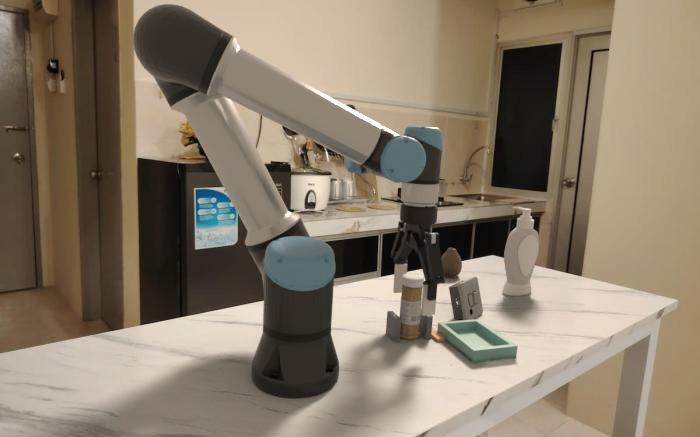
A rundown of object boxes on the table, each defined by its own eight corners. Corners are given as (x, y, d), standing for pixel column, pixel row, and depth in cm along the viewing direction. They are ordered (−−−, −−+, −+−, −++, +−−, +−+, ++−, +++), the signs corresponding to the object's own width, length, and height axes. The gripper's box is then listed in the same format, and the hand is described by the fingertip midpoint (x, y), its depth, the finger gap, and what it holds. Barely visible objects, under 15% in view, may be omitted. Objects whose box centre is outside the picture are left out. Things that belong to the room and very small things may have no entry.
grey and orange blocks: (397, 345, 97) (399, 322, 96) (382, 329, 104) (384, 308, 103) (445, 340, 101) (447, 318, 100) (427, 326, 108) (429, 305, 107)
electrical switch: (467, 324, 111) (467, 285, 110) (446, 320, 114) (447, 282, 113) (483, 314, 118) (484, 277, 117) (464, 310, 121) (464, 274, 120)
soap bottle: (519, 285, 143) (529, 205, 139) (540, 293, 136) (551, 209, 132) (486, 289, 137) (496, 206, 133) (506, 298, 130) (517, 210, 126)
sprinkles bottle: (414, 331, 105) (419, 272, 102) (422, 340, 100) (427, 278, 98) (394, 331, 104) (399, 272, 101) (401, 340, 99) (406, 279, 97)
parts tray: (472, 362, 91) (474, 350, 91) (437, 333, 104) (438, 322, 104) (516, 357, 95) (517, 346, 94) (476, 329, 108) (477, 319, 107)
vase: (438, 277, 146) (441, 250, 145) (438, 271, 153) (440, 245, 151) (461, 280, 145) (464, 252, 144) (460, 273, 152) (462, 247, 150)
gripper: (469, 213, 87) (459, 323, 90) (409, 195, 110) (403, 283, 114) (432, 214, 84) (424, 327, 88) (379, 195, 107) (374, 285, 111)
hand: (412, 302), depth 101 cm, fingers open, 13 cm apart
